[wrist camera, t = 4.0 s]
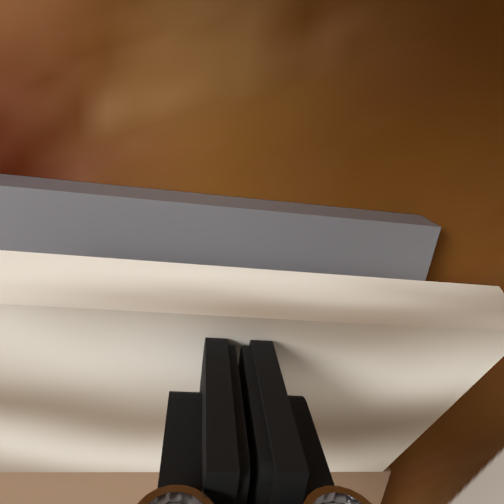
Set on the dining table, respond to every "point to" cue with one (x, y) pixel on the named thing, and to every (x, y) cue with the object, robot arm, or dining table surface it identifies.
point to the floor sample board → (203, 253)
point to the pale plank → (237, 333)
